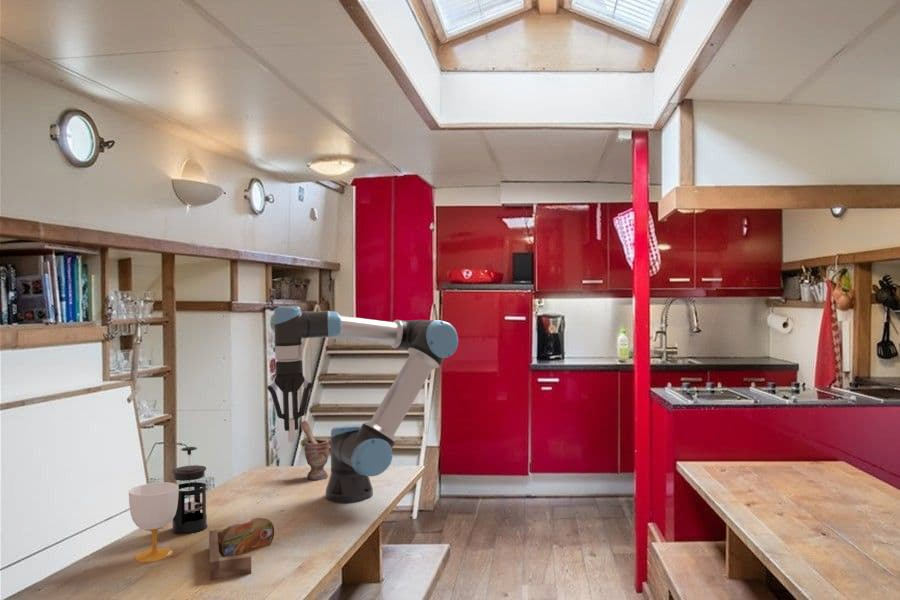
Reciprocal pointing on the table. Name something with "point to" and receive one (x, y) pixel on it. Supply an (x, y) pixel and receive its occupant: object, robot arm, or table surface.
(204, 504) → the french press
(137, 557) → the cup
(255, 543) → the tin
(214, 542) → the shelf
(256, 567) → the table surface
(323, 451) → the mortar and pestle
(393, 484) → the table surface
